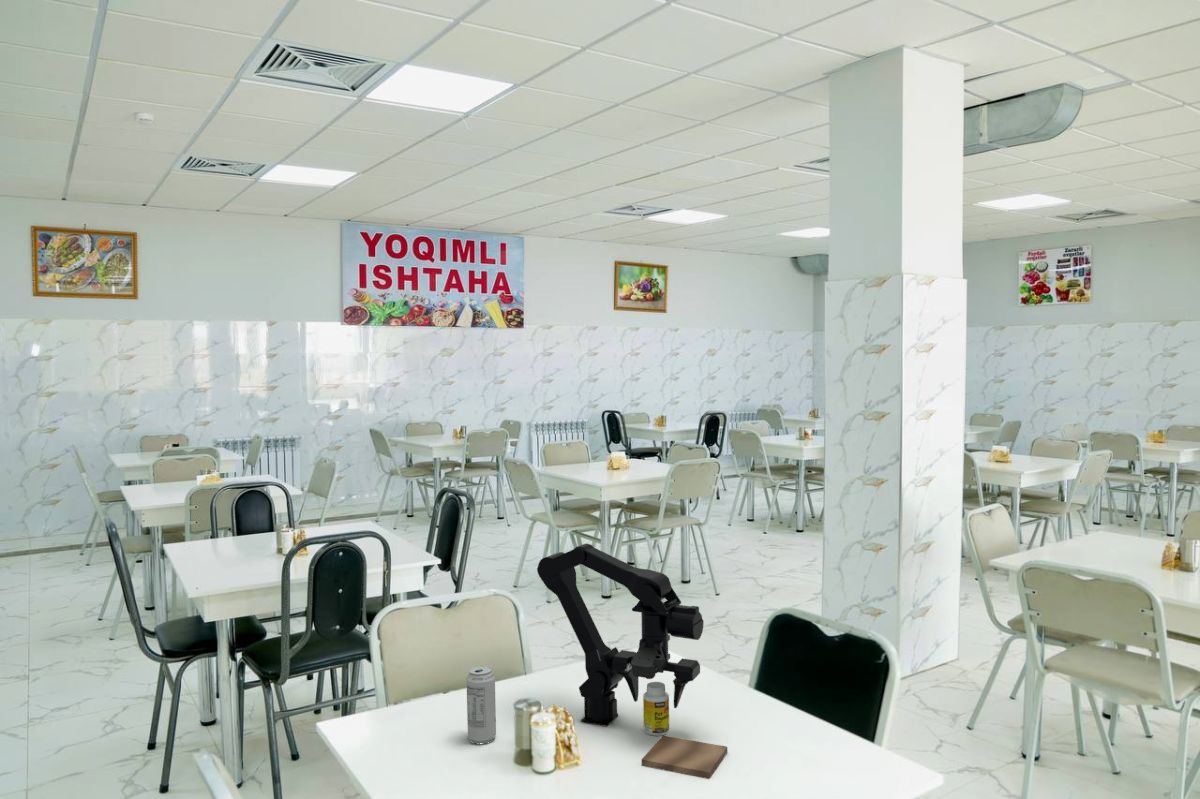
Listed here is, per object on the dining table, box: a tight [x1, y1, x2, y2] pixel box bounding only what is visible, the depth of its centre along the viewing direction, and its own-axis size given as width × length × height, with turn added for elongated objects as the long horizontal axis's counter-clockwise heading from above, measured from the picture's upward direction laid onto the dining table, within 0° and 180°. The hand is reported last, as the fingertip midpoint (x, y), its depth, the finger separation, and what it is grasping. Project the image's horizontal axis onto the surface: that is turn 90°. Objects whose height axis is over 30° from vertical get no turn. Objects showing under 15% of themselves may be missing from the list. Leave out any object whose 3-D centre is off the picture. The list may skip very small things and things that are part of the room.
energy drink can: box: [466, 665, 497, 745], centre depth 181 cm, size 6×6×15 cm
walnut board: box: [641, 734, 728, 779], centre depth 170 cm, size 14×12×1 cm
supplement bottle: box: [642, 681, 670, 737], centre depth 183 cm, size 6×6×10 cm
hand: (655, 704), depth 183 cm, fingers open, 9 cm apart
